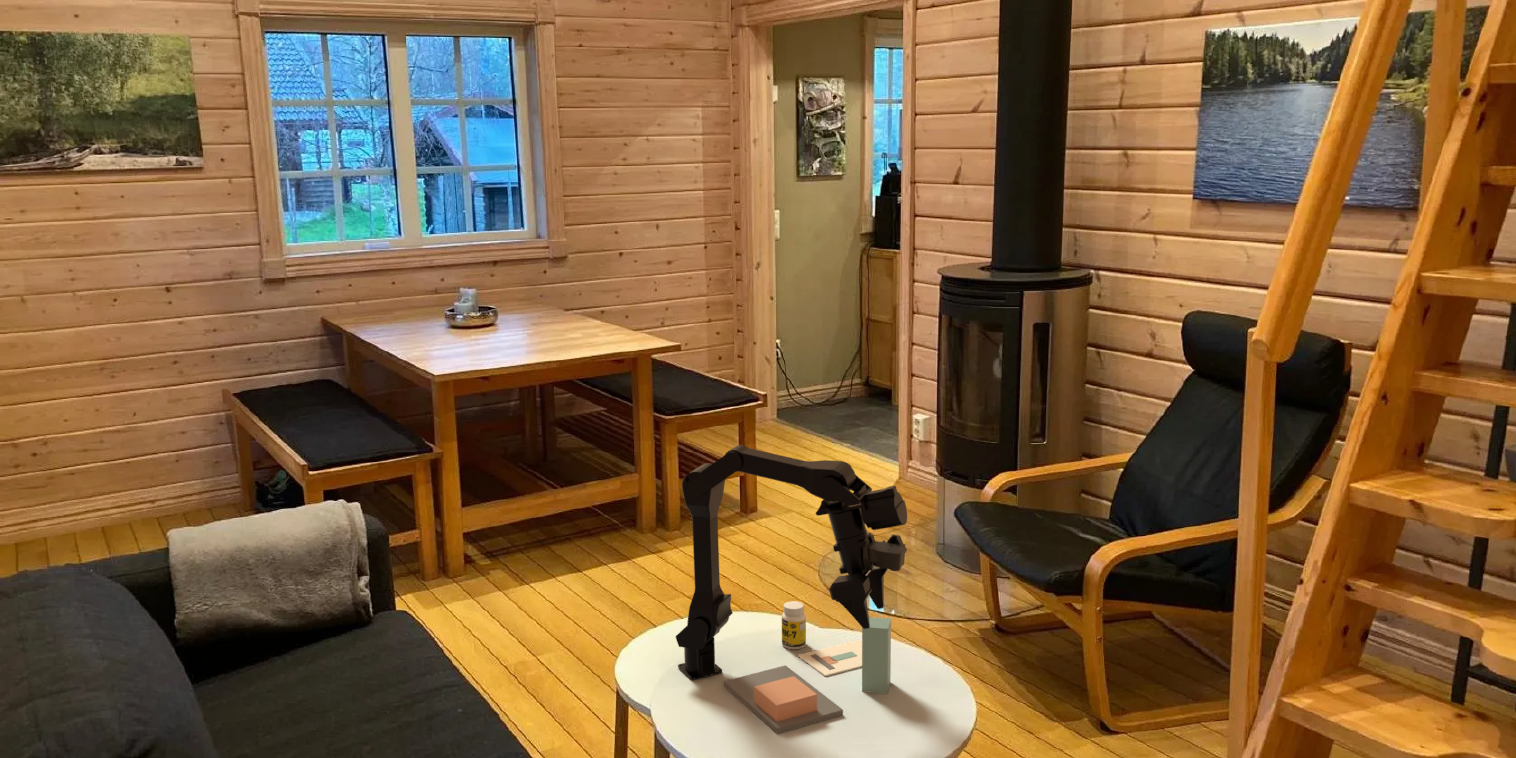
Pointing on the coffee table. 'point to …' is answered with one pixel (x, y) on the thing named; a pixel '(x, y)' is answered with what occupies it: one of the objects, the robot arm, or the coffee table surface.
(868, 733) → the coffee table surface
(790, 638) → the supplement bottle
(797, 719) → the baseplate
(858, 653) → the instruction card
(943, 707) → the coffee table surface
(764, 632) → the coffee table surface
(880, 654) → the tall brick
